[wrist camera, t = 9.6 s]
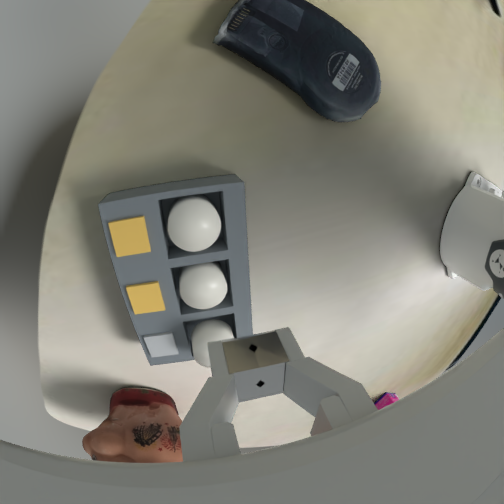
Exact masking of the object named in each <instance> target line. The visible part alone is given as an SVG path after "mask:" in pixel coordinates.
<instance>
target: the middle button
mask: <svg viewBox="0 0 504 504" xmlns="http://www.w3.org/2000/svg"><path fill="white" fill-rule="evenodd" d="M179 285H180V295H181V297H182V299H183V301H184V302H185V303H186V304H187V305H189V306H191V307H193V308H196V309H209V308H212V307H214V306H216V305H218V304H219V303H220V302H221V301H222V300H223V299H224V298H225V296H226V293H227V283H226V280H225V277H224V274H223V271H222V268H221V266H220V264H219V263H218V262H217V261H213V262H207V263H200V264H194V265H188V266H181V268H180V272H179Z"/></svg>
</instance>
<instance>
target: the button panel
mask: <svg viewBox="0 0 504 504" xmlns="http://www.w3.org/2000/svg"><path fill="white" fill-rule="evenodd" d="M194 194H201V195H204V196H206V197H207V198H208V199H210V200H211V202H212V203H213V204H214V206H215V208H216V211H217V213H218V215H219V217H220V221H221V230H220V234H219V236H218V238H217V240H216V241H215V242H214V243H213V244H212V245H211V246H210V247H208V248H206V249H204V250H201V251H196V252H191V251H186V250H183V249H181V248H179V247H178V246H176V245H175V244H174V243H173V242H172V240H171V238H170V236H169V234H168V217H169V211H170V208H171V206H172V204H173V203H174V202H175V200H177V199H178V198H179V197H181V196H187V195H194ZM98 207H99V211H100V216H101V220H102V225H103V229H104V233H105V237H106V241H107V245H108V249H109V252H110V256H111V259H112V263H113V266H114V270H115V273H116V276H117V279H118V283H119V286H120V289H121V292H122V295H123V298H124V301H125V303H126V306H127V309H128V312H129V315H130V317H131V320H132V323H133V325H134V328H135V330H136V333H137V335H138V338H139V340H140V343H141V345H142V347H143V350H144V352H145V354H146V357H147V359H148V361H149V363H150V366H151V365H160V364H168V363H175V362H182V361H189V360H195V359H194V355H193V348H192V340H191V332H192V330H193V328H194V327H195V326H196V325H197V324H199V323H200V322H202V321H205V320H210V319H217V320H221V321H224V322H226V323H227V324H228V325H229V326H230V327H231V330H232V333H233V336H234V338H238V337H244V336H249V335H253V330H252V313H251V295H250V278H249V260H248V242H247V224H246V205H245V186H244V181H243V180H241V179H240V178H239V177H238V176H237V175H235V174H233V175H223V176H214V177H206V178H198V179H190V180H183V181H176V182H170V183H163V184H157V185H151V186H145V187H139V188H134V189H128V190H123V191H118V192H113V193H109V194H108V195H107V196H106V197H105V198H104V199H103V200H102V201H101V202H100V203H99V204H98ZM213 261H217V262H218V263H219V264H220V266H221V268H222V271H223V274H224V277H225V280H226V283H227V293H226V296H225V298H224V299H223V300H222V301H221V302H220V303H219V304H218V305H216V306H214V307H212V308H209V309H196V308H193V307H191V306H189V305H187V304H186V303H185V302H184V301H183V299H182V297H181V295H180V285H179V272H180V268H181V266H188V265H194V264H200V263H207V262H213Z"/></svg>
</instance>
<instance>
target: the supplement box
mask: <svg viewBox="0 0 504 504" xmlns="http://www.w3.org/2000/svg"><path fill="white" fill-rule="evenodd" d="M398 400H400V399H399V398H398V396H397V395H396V394H395V393H387V392H386V393H385V394H384V395H382V396H381V397H380V398H379V399H378V400H377V401H376V402H375V403H374V404H375V406H376V407H377V409H378V410H380V409H382V408H384V407H386V406H388V405H390V404H392V403H394V402H396V401H398Z"/></svg>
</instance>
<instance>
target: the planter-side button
mask: <svg viewBox="0 0 504 504" xmlns="http://www.w3.org/2000/svg"><path fill="white" fill-rule="evenodd" d="M231 338H234V336H233V333H232V330H231V327H230V326H229V325H228V324H227V323H226V322H224V321H221V320H217V319H210V320H205V321H202V322H200V323H199V324H197V325H196V326H195V327H194V328H193V330H192V332H191V340H192V348H193V355H194V359H195V360H196V362H197V363H199V364H200V365H202V366H205V367H211V365H210V359H209V353H208V347H207V342H212V341H219V340H221V342H222V340H224V339H231Z"/></svg>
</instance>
